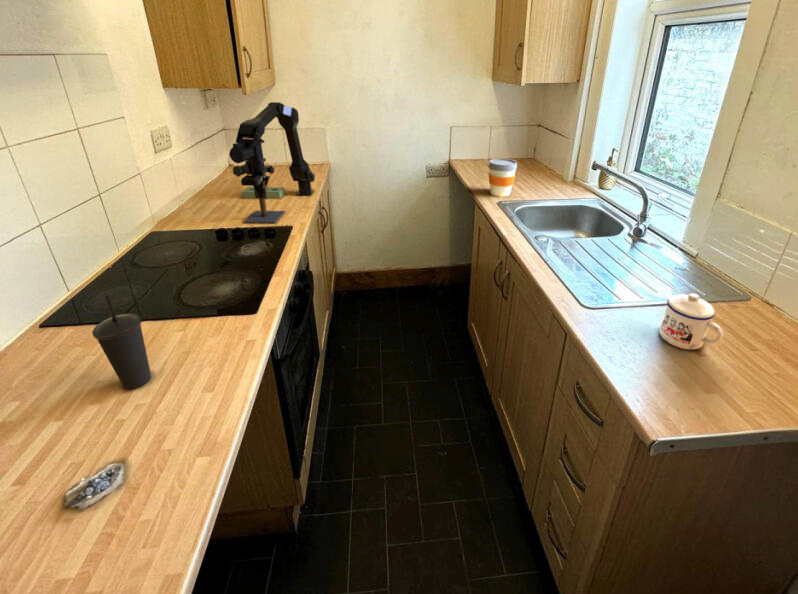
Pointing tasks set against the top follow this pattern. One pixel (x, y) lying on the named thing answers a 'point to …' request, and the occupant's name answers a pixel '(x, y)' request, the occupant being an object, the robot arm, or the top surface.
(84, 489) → the blueberries
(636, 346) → the top surface
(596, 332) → the top surface
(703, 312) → the teacup with lid
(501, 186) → the reusable coffee cup
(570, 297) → the top surface
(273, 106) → the robot arm
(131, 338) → the drinking cup
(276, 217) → the mat
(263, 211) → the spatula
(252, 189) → the rack
